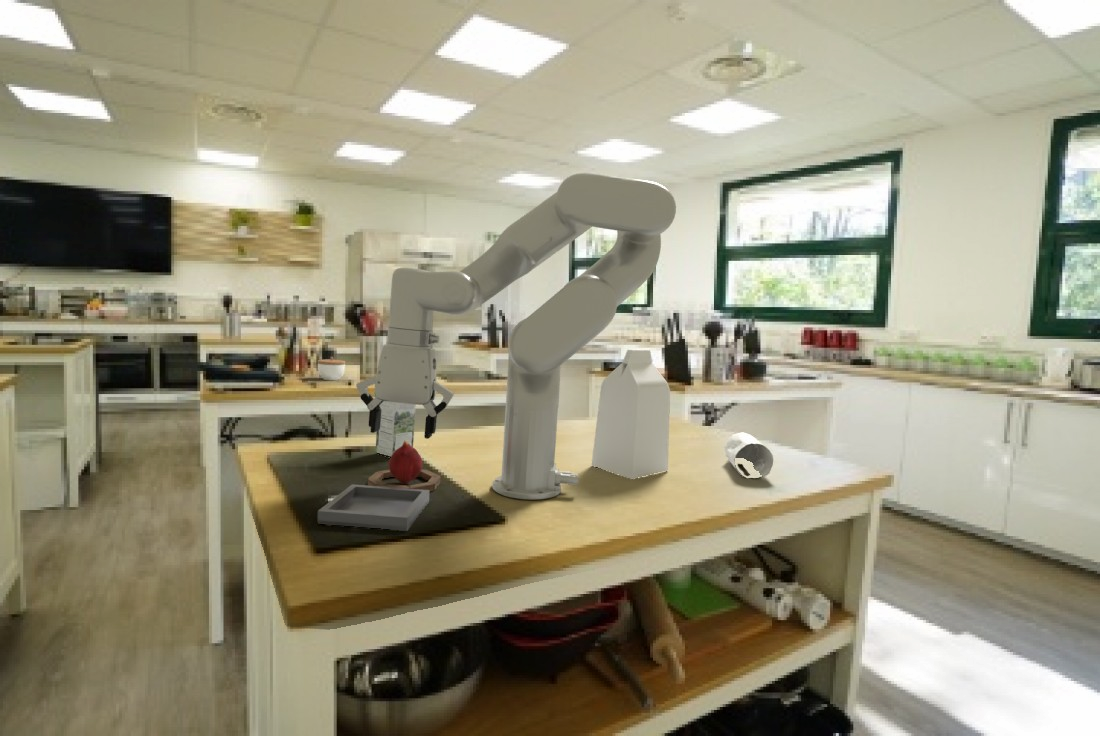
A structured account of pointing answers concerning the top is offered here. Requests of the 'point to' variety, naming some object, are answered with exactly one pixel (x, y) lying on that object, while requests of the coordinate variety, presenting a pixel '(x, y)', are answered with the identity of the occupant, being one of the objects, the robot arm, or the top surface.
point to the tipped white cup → (749, 452)
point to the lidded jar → (331, 369)
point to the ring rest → (426, 474)
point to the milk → (633, 419)
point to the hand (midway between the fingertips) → (401, 434)
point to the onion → (405, 463)
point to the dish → (375, 507)
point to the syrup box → (395, 427)
